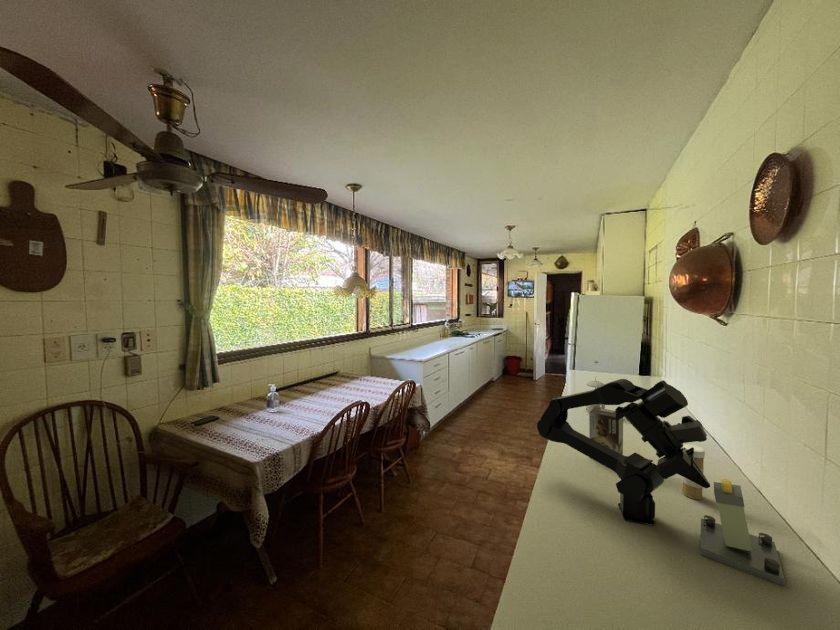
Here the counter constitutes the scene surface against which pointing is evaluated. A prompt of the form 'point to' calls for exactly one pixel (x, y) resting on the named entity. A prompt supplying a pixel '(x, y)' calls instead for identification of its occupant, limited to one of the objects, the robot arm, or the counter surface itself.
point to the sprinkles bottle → (689, 486)
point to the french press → (596, 385)
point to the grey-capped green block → (732, 515)
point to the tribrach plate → (742, 552)
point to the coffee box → (606, 429)
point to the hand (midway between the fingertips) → (708, 487)
